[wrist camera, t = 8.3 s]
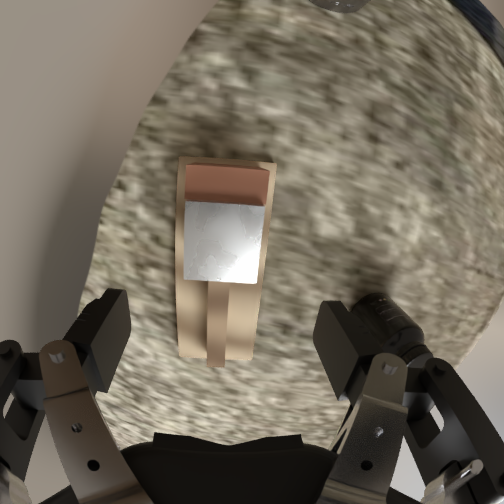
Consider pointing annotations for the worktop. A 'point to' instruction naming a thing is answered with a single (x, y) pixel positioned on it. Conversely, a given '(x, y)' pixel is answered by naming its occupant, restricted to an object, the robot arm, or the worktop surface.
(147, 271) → the worktop surface
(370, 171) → the worktop surface
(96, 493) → the robot arm
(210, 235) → the block
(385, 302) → the supplement bottle
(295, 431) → the worktop surface
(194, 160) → the rail
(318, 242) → the worktop surface
